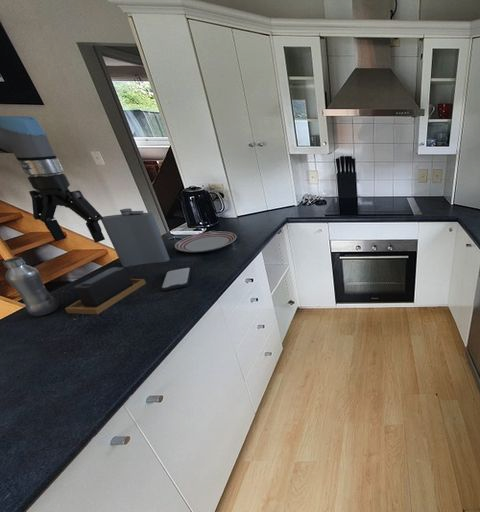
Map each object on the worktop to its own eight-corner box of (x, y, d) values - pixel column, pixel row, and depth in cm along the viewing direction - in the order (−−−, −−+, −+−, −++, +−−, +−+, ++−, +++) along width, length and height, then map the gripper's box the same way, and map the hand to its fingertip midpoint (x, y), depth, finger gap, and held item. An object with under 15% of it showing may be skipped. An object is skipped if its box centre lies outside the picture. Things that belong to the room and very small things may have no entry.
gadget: (121, 285, 106) (112, 266, 103) (133, 285, 106) (124, 267, 103) (84, 306, 94) (72, 286, 90) (98, 307, 94) (86, 287, 90)
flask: (171, 257, 129) (152, 206, 118) (168, 261, 125) (148, 208, 114) (126, 262, 124) (101, 209, 113) (121, 267, 120) (95, 212, 109)
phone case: (167, 274, 115) (161, 292, 103) (166, 271, 115) (160, 289, 102) (192, 269, 119) (189, 286, 107) (191, 266, 119) (188, 283, 106)
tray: (67, 313, 91) (64, 308, 91) (120, 282, 109) (118, 278, 108) (97, 314, 91) (94, 309, 90) (146, 283, 109) (144, 279, 108)
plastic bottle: (38, 309, 93) (2, 257, 84) (65, 304, 96) (33, 253, 87) (27, 321, 88) (-13, 266, 79) (56, 315, 90) (21, 262, 82)
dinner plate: (199, 235, 155) (198, 229, 153) (247, 236, 154) (245, 230, 152) (162, 256, 130) (160, 250, 128) (218, 258, 129) (217, 251, 128)
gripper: (-11, 175, 78) (31, 243, 87) (72, 177, 77) (105, 246, 86) (21, 171, 84) (57, 234, 94) (98, 173, 83) (126, 237, 93)
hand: (80, 240), depth 90 cm, fingers open, 13 cm apart
